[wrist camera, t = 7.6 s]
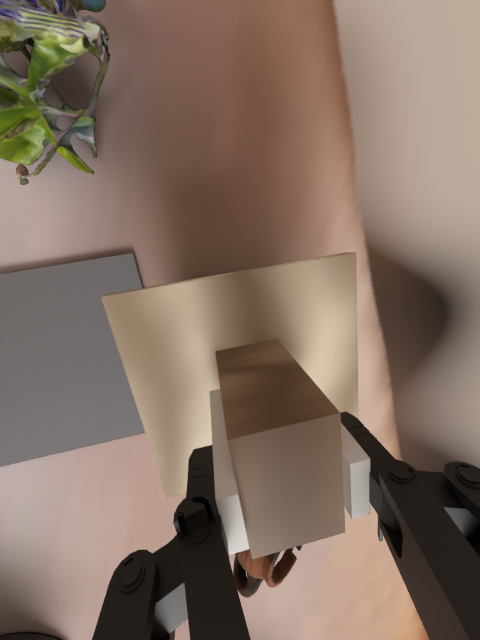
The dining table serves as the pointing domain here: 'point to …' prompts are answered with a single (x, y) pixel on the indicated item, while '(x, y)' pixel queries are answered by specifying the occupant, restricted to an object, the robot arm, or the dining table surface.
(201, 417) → the lid
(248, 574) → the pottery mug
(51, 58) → the passion flower
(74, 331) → the mat
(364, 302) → the dining table surface
